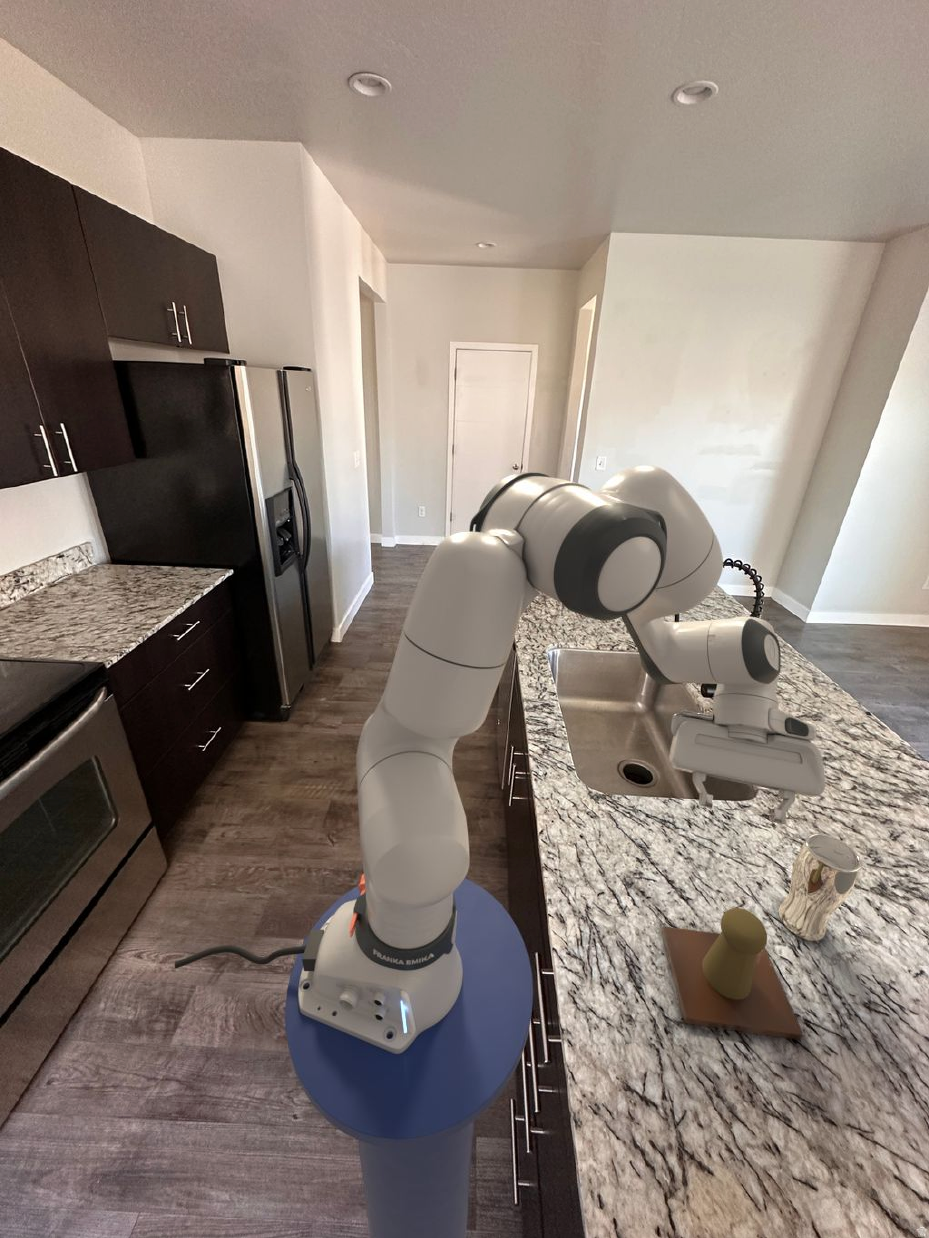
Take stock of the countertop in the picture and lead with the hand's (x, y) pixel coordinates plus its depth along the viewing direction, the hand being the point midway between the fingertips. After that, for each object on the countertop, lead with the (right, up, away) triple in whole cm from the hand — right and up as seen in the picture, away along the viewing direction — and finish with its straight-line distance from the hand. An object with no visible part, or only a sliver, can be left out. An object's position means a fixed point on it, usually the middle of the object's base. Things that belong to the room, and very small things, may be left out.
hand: (740, 814), depth 70 cm
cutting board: (-4, -21, -3) cm, 22 cm away
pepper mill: (-4, -21, -4) cm, 21 cm away
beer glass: (+12, -19, +5) cm, 23 cm away
